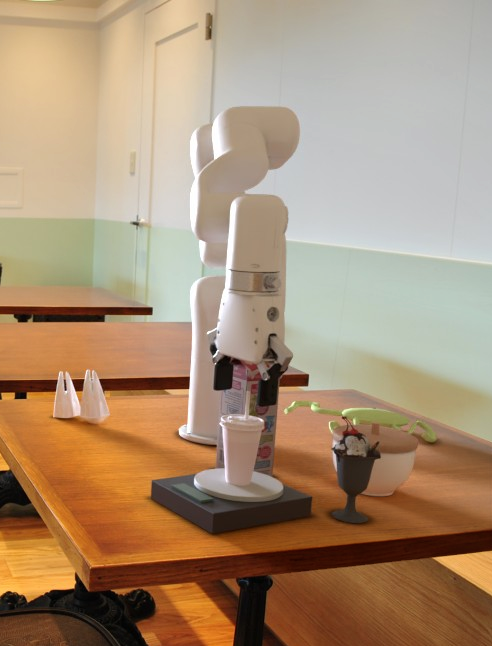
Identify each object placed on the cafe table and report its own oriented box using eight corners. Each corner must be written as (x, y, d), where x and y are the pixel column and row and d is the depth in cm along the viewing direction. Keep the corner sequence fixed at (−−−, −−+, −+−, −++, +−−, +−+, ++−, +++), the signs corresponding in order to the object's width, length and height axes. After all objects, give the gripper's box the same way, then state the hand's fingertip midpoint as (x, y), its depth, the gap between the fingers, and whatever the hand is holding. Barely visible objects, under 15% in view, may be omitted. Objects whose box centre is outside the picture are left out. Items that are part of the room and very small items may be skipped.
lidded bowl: (406, 508, 126) (414, 438, 124) (320, 491, 133) (326, 425, 131) (417, 485, 137) (424, 420, 135) (336, 471, 143) (342, 409, 141)
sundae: (317, 509, 125) (325, 412, 122) (360, 508, 126) (369, 412, 123) (337, 526, 118) (346, 424, 116) (382, 525, 119) (392, 424, 117)
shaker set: (111, 423, 171) (113, 370, 169) (100, 427, 168) (102, 374, 166) (62, 413, 178) (64, 363, 176) (51, 417, 175) (53, 365, 173)
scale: (242, 484, 135) (244, 461, 135) (310, 516, 122) (313, 491, 121) (150, 498, 128) (151, 475, 127) (212, 534, 115) (214, 508, 114)
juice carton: (215, 469, 143) (223, 343, 139) (246, 465, 145) (255, 341, 142) (240, 481, 137) (249, 349, 133) (272, 476, 139) (282, 347, 136)
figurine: (273, 424, 174) (275, 397, 173) (387, 419, 179) (389, 394, 178) (323, 449, 156) (325, 420, 155) (447, 444, 161) (450, 416, 160)
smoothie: (262, 490, 121) (269, 397, 119) (217, 486, 123) (223, 394, 120) (258, 476, 128) (265, 387, 125) (215, 473, 129) (221, 384, 126)
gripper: (316, 289, 114) (305, 409, 117) (233, 275, 129) (226, 382, 133) (273, 291, 111) (264, 415, 114) (194, 276, 126) (187, 386, 129)
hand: (243, 397), depth 123 cm, fingers open, 9 cm apart
